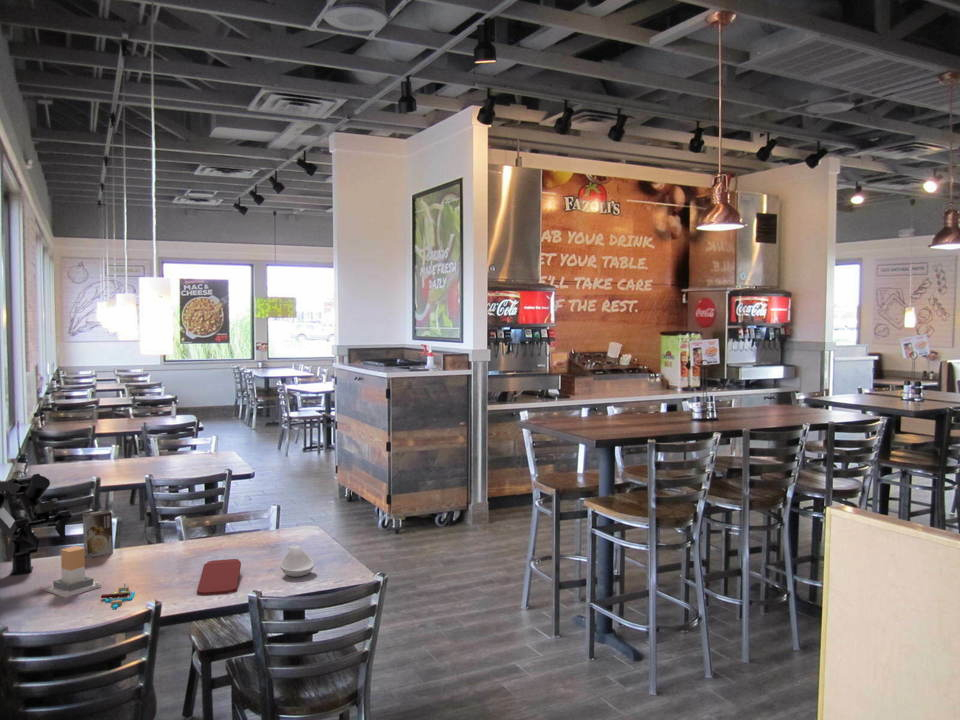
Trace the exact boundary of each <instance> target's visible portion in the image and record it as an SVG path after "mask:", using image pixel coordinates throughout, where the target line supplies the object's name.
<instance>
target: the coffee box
mask: <svg viewBox="0 0 960 720" xmlns="http://www.w3.org/2000/svg"><path fill="white" fill-rule="evenodd" d="M112 515H113V514H112V512H111V511H110V510H108V509H106V510H99V511H91V512H85V513H82V530H83V531H82V532H83V533H82V534H83V536H82V537H83V548H84V552H85V556H86V558H94V557H99V556H100V557H101V556H105V555H111V554H114V544H113V543H114V542H113V517H112Z"/></svg>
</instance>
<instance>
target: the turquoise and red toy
mask: <svg viewBox="0 0 960 720" xmlns="http://www.w3.org/2000/svg"><path fill="white" fill-rule="evenodd" d="M126 584H127V583H126V581H125V582H124V583H123V586H119V587H118V591H115V592H113V593H106V594H101V595H100V599H104V602H105V603H106V604H107V603H110V605H111V606H110V607H112V610H115V609H116V610H117V609H118V607H119V606H122V605H123V602H124V601H125V602H126V601H127V602H128V601H132V600H133V598H134V596H135V595H136V591H129V590H130V586H128V585H126Z"/></svg>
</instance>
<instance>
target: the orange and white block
mask: <svg viewBox="0 0 960 720" xmlns="http://www.w3.org/2000/svg"><path fill="white" fill-rule="evenodd" d="M60 556H61V557H60V559H61V562H60V563H61V579H62V583H65V584H68V585H70V584H73V583H77V582H80V581H83V580H85V576H86V570H85V569H86V568H85V567H86V566H85V565H86V564H85V563H86V562H85V561H86V560H85V552H84V547H82V546H78V545H74V546H70V547H67V548H62V549H60Z"/></svg>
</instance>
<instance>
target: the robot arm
mask: <svg viewBox="0 0 960 720" xmlns="http://www.w3.org/2000/svg"><path fill="white" fill-rule="evenodd" d="M50 486H51V481H50V479H49V478H47V477H46V476H43V475H41V474H40V473H35V474H33V475H26V476H19V477H13V478H10V479H8V480H0V530H2V532H3V533H4V534H5V536H6V537H7V538H8V539H9V541H8V545H7V546H6V548H5V550H4V553H5V557H6V558H10V559H12V560H11V566H12V569H11V571H10V573H9V574H10V575H11V576H12V575H13V576H14V575H22V574H29V573H32V571H33V569H34V566H32V554H34V553H35V554H36V553H38V549H39V544H40V539H39V536H38V535H37V534H36V532H35V531H34V530H33V529H32V528H35V527H39V526H40V527H41V526H44V525H49V524H53V525H54V526H55V527H54V529H55V531H56V533H57V534H58V535H59V537H60V538H61V540H62V541H65V540H66V525H68V523H69V521H70V520H71V518H72V516H73V514H72V513H71V511H70V510H68V509H67V510H61V511H58V512H56V514H55V516H52V514H53V511H55V510H56V509H57V508H59V507H60V501H59V500H58V498H57V497H55V498H51V499H50V500H49V501H44V502H42V499H41V498H42V497H43V496H44V495H45V493H46V491H47V490H48V489H49V487H50ZM5 492H8V493H9V494H12V495H19V494H20V496H19V497H18V501H17V505H19V506H20V505H21V507H22V508H23V510H24V517H25V518H21V519H16V520H15V519H14V517H12V515H10V513H9V512H8V511H7V510H6V508H4V506H5V501H6V499H7V496H6V493H5ZM50 516H51V517H50Z"/></svg>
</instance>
